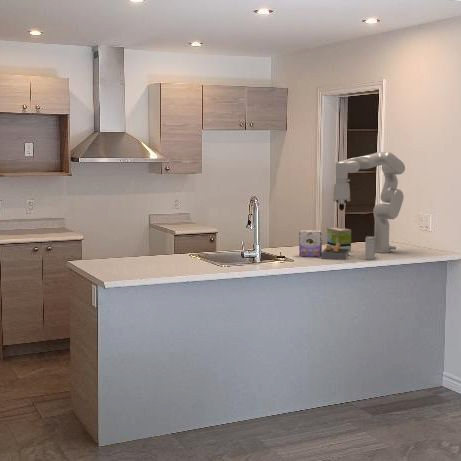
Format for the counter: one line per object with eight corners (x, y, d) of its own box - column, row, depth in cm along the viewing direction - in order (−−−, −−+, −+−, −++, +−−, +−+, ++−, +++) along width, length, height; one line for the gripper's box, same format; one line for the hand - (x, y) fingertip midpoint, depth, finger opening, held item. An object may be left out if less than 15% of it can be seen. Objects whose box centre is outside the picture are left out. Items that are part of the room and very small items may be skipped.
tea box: (326, 249, 494) (326, 227, 492) (338, 248, 498) (339, 227, 496) (338, 252, 480) (339, 230, 478) (351, 251, 484) (351, 229, 483)
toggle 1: (330, 249, 462) (330, 244, 461) (330, 250, 459) (330, 245, 458) (326, 249, 462) (326, 244, 462) (326, 249, 459) (326, 244, 459)
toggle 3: (338, 250, 455) (338, 245, 455) (337, 251, 452) (337, 246, 452) (334, 250, 456) (334, 245, 455) (333, 251, 453) (333, 246, 452)
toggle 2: (340, 248, 466) (340, 243, 465) (339, 249, 463) (339, 244, 462) (336, 248, 466) (336, 243, 466) (335, 248, 463) (335, 244, 463)
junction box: (374, 256, 460) (375, 236, 458) (373, 259, 448) (374, 239, 446) (366, 256, 461) (366, 236, 460) (364, 259, 449) (365, 238, 448)
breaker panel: (348, 255, 468) (348, 248, 467) (345, 259, 448) (345, 252, 448) (325, 254, 471) (325, 247, 471) (321, 258, 452) (321, 252, 452)
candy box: (322, 256, 464) (322, 230, 462) (320, 257, 458) (321, 231, 456) (300, 255, 468) (300, 229, 466) (299, 256, 462) (299, 230, 460)
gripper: (354, 180, 459) (354, 209, 461) (330, 181, 462) (330, 209, 465) (353, 181, 451) (353, 211, 454) (328, 181, 455) (329, 211, 457)
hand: (341, 210), depth 459 cm, fingers closed
